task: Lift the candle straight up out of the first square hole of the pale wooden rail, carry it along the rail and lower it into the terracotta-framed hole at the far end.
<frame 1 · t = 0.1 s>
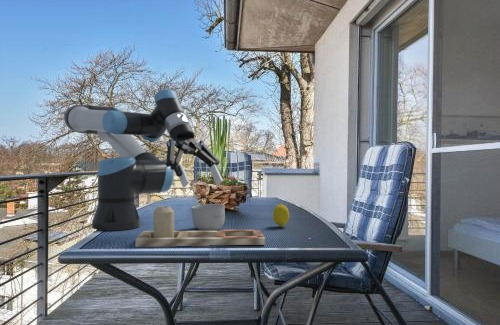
hand: (203, 184, 126), 15 cm above the table, tool tilted 35°, fingers open, 13 cm apart
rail: (201, 241, 114), on the table
teacup: (209, 229, 134), on the table
candle: (163, 242, 113), resting in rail
lemon: (280, 227, 139), on the table
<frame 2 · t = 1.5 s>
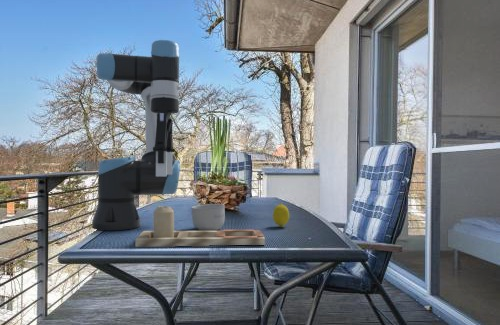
hand: (164, 175, 112), 18 cm above the table, tool pointing down, fingers open, 13 cm apart
nothing on the table moved.
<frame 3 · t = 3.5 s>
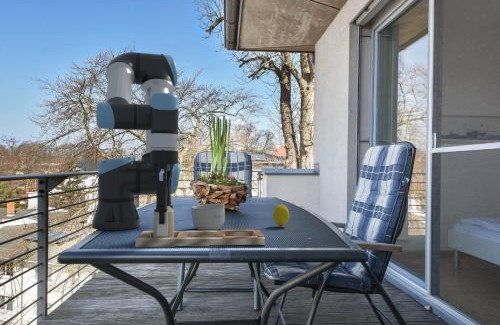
hand: (163, 233, 113), 2 cm above the table, tool pointing down, fingers closed on candle, 5 cm apart
candle: (163, 242, 113), resting in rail, touching gripper
everything else where it was.
when the fingers open (3 cm above the table, at t = 9.1 s): candle stays where it is, resting in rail.
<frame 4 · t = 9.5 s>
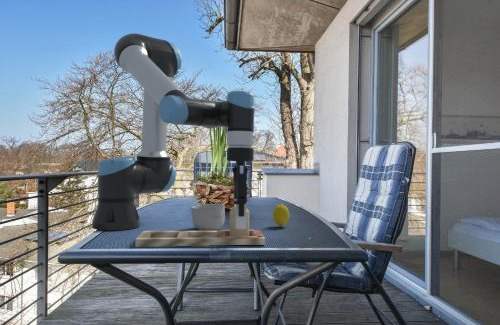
hand: (239, 224, 114), 5 cm above the table, tool pointing down, fingers open, 11 cm apart
candle: (239, 242, 114), resting in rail
everything else where it was.
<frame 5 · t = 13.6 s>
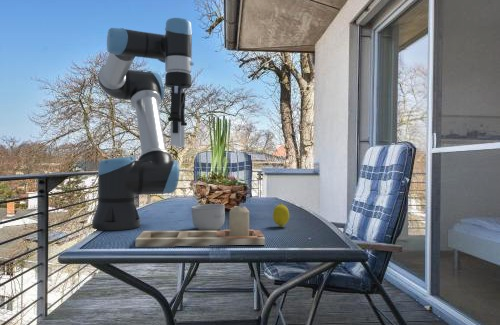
hand: (177, 146, 119), 27 cm above the table, tool pointing down, fingers open, 13 cm apart
nothing on the table moved.
at the end: candle 0.1 cm from the target spot, resting in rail; candle tilted 0°; the gripper is holding nothing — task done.
